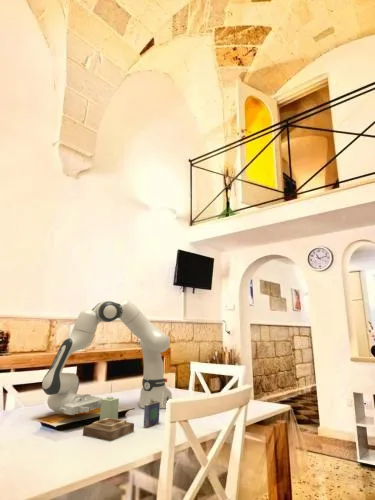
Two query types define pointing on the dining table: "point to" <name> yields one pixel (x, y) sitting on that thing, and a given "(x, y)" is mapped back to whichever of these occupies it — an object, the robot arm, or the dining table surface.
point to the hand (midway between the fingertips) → (96, 407)
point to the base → (108, 429)
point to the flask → (151, 413)
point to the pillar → (109, 408)
